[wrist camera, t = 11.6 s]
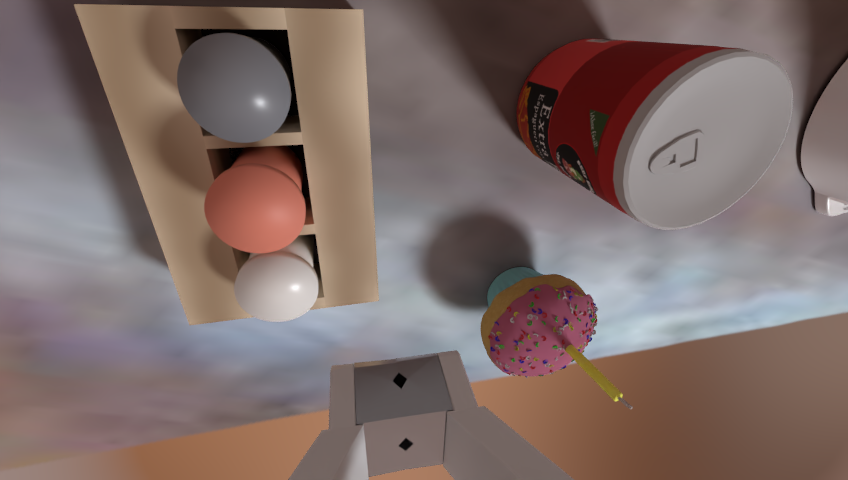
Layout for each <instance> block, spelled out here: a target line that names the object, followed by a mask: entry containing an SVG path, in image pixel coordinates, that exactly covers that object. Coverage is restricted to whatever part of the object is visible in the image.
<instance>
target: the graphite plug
mask: <svg viewBox="0 0 848 480" xmlns="http://www.w3.org/2000/svg"><path fill="white" fill-rule="evenodd" d="M177 85H178V90H179V94H180V97H181V100H182V102H183V104H184V106H185V108H186V109H187V111H188V113H189V114H190V115H191V116H192V118H193V119H194V120H195V121H196V122H197V123H198V124H199V125H200V126H201V127H203V128H204V129H205V130H206V131H208V132H210V133H211V134H213V135H215V136H217V137H219V138H222V139H224V140H228V141H232V142H238V143H250V142H256V141H260V140H262V139H265V138H267V137H269V136H270V135H272V134H273V133H274V132H276V131H277V130H278V129H279V128H280V127H281V125H282V124H283V122H284V121H285V119H286V117H287V114H288V111H289V108H290V103H291V88H290V86H291V73H290V69H289V66H288V63H287V61H286V59H285V58H284V56H283V55H282V54H281V52H280V51H279V50H278V49H277V48H276V47H275V46H273V45H272V44H270V43H269V42H267V41H265V40H263V39H260V38H256V37H247V36H244V35H240V34H235V33H217V34H212V35H208V36H205V37H203V38H201V39H199V40H197V41H195V42H194V43H193V44H192V45H191V46H190V47H189V48H188V49H187V50H186V51H185V53H184V54H183V56H182V58H181V60H180V63H179V66H178V71H177Z"/></svg>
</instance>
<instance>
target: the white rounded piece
mask: <svg viewBox="0 0 848 480" xmlns="http://www.w3.org/2000/svg"><path fill="white" fill-rule="evenodd" d="M313 261H314V236H313V234H308V235H298V237H297V238H296V239H295V240H294V241H293V242H292V243H290V244H289V245H288V246H286V247H284V248H282V249H280V250H277V251H274V252H269V253H250V256H249V259H248V261H246V262H245V263H244V264H243V266H242V267H241V268H240V270H239V272H238V275H237V278H236V281H235V285H234V293H235V297H236V300H237V302H238V304H239V305H240V306H241V308H242V309H243V310H244V311H246V312H247V313H248V314H250V315H251V316H253V317H255V318H258V319H261V320H264V321H270V322H283V321H289V320H292V319H295V318H298V317H300V316H302V315H303V314H305V313H306V312H307V311H308V310H310V308H311V307H312V306H313V305H314V303H315V301H316V299H317V296H318V277H317V274H316V271H315V270H314V268H313Z"/></svg>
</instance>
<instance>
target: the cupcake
mask: <svg viewBox="0 0 848 480" xmlns="http://www.w3.org/2000/svg"><path fill="white" fill-rule="evenodd" d="M487 301H488V309H487V311H486V312H485V314H484V315H483V317H482V321H481V336H482V341H483V344H484V347H485V349H486V351H487V354H488V356H489V358H490V359H491V360H492V362H493V363H494V364H495V365H496V366H497V367H498V368H499V369H500V370H502V371H503V372H505V373H507V374H509V375H510V374H512V375H513V376H515V375H514V374H516V375H518V376H521V375H522V376H525V377H526V378H527V376H543V375H545V374H553V373H554V372H556V371H557V370H560V369H564V368H566V365H568V364H569V363H570V362H573V361H574V360H575V361H576V362H577V363H578V364H579V365H580V366H581V367H582V368H583V369H584V370H585V372H587V374H588V375H589V376H590V377H591V378H592V379H593V380H594V381H595V382H596V383H597V384H598V385H599V386H600V387H601V388H602V389H603V390H604V391H605V392H606V393H607V394H608V395H609V396H610V397H611V398H612V399H613V400H614V401H618V400H620V401H621V402H622V403H623V404H624V405H626V407H628V408H630V409H631V408H632V406H631V405H629V404H628V403H627V402H626V401H625V400H624V399H622V396H623V394H622V393H621V392H620V391H619V390H618V389H617V388H616V387H615V386H614V385H613V384H612V383H611V382H610V381H609V380H608V379H607V378H606V377H605V376H604V375H603V374H602V373H601V372H600V371H598V369H597V368H596V367H595V366H594V365H593V364H592V363H591V362H590V361H589V360H588V359H587V358H585V357H584V356H583V355H582V353H583V352H584V348H585V346H587V345H588V342H590V341H591V340H592V338H591V336H592V334H593V335H594V334H596V331H595V330H593V329H594V326H596V325H597V319H596V318H597V315H596V314H595V312H596V311H598V308H597V307H595V306H594V305H596V304H594V303H593V301H594V300H593V299H592V297H591V296H590V295H589V294H588V295H586V294H585V293H584V291H583V290H582V289H581V288H580V287H579V286H578V285H577V284H576V283H575V282H574V281H572V280H570V279H568V278H565V277H563V276H561V275H557V274H551V275H543V274H540V273H538V272H536V271H535V270H533V269H531V268H527V267H516V268H512V269H509V270H507V271H505V272H503V273H502V274H500V275H499V276H498V277H497V278H496V279H495V280H494V281H493V282H492V284H491V285H490V287H489V290H488V294H487ZM596 309H597V310H596ZM595 315H596V316H595ZM595 319H596V320H595ZM595 323H596V324H595ZM593 331H594V332H595V333H593ZM590 339H591V340H590Z"/></svg>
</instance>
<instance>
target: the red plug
mask: <svg viewBox="0 0 848 480" xmlns="http://www.w3.org/2000/svg"><path fill="white" fill-rule="evenodd" d="M302 181H303V168H302V164H301V162H300V160H299V158H298V156H297V155H296V154H295V153H294V151H292V150H291V149H290V148H289V147H287V146H286V145H282V146H261V147H245V148H244V149H243V150H242V151H241V152H240V154H239V155H238V157H237V158H236V160H235V162H234V163H233V165H232V167H231V168H229V169H227V170H225V171H224V172H223V173H221V174H220V175H219V176H218V177H217V178H216V179H215V181H214V182H213V183H212V185H211V186H210V188H209V190H208V192H207V194H206V197H205V202H204V212H205V217H206V219H207V222H208V224H209V226H210V228H211V229H212V231H213V232H214V233H215V234H216V235H217V236H218V238H220V239H221V240H222V241H223V242H225V243H226V244H228V245H229V246H231V247H233V248H236V249H238V250H241V251H245V252H250V253H269V252H274V251H277V250H280V249H282V248H284V247H286V246H288V245H289V244H290V243H292V242H293V241H294V240H295V239H296V238H297V237H298V235H299V234H300V232H301V231H302V228H303V226H304V222H305V214H306V204H305V199H304V196H303V194H302V192H301V190H302Z"/></svg>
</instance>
